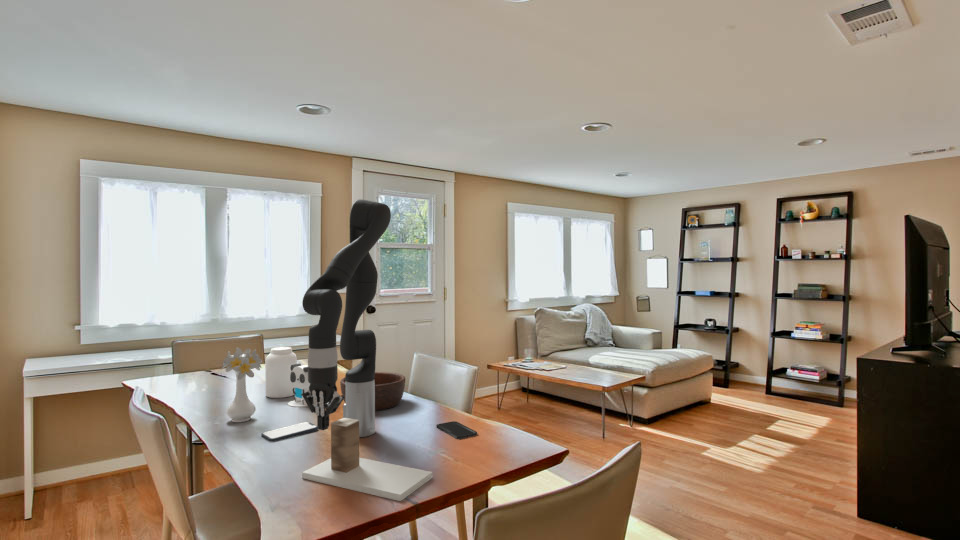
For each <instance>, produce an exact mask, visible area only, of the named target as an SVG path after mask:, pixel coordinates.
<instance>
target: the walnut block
mask: <svg viewBox="0 0 960 540" xmlns="http://www.w3.org/2000/svg"><path fill="white" fill-rule="evenodd" d="M330 458H331V470H336V471H341V472H345V473H347V472H349V471H351V470H353V469H354V468H356V467H358V466H359V458H360V437H359V420H356V419H350V418H343V417H342V418H340V419H338V420H335V421H332V422H331V423H330Z"/></svg>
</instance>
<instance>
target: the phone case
mask: <svg viewBox="0 0 960 540" xmlns="http://www.w3.org/2000/svg"><path fill="white" fill-rule="evenodd" d="M317 431H319V429H318V426H317V425H316V424H313V423H312V422H310V421H304V422H299V423H295V424H292V425H288V426H285V427H279V428H276V429H272V430H267V431H264V432H261V438H263V439H265V440H266V441H268V442H270V443H272V442H278V441H283V440H286V439H289V438H290V439H291V438H294V437H298V436H302V435H306V434H307V435H308V434H310V433H313V432H317Z"/></svg>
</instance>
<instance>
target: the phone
mask: <svg viewBox="0 0 960 540" xmlns="http://www.w3.org/2000/svg"><path fill="white" fill-rule="evenodd" d="M435 428H436V429H438V430H439V431H441V432H443V433H445V434H446V435H447V436H448V435H449V436H450V437H452V438H454V439H456V440H463V439H467V438H471V437H472V438H473V437H475V436H478V431H476V430H474V429H472V428H470V427H468V426H466V425H465V424H463V423H460V422H458V421H455V420H452V421H448V422H442V423H438V424H436V426H435Z"/></svg>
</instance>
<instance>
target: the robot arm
mask: <svg viewBox="0 0 960 540" xmlns="http://www.w3.org/2000/svg"><path fill="white" fill-rule="evenodd" d="M391 217H392V213H391V209H390V207H389V205H387V204H385V203H382V202H379V201H378V202H377V201H373V200H367V199H361V198H360V199H356V200H355V201H354V202H353V203H352V205H351V208H350V212H349V244H347V245H346V246H344V247H342V248H341V249H340V250H338V252H337V253H335V255H334V256H333V258H332V259H331V261H330V262H329V264H328V266H327V268H326V269H325V270H324V272H323V273H322V275H320V276H319V277H318V278H317V279H316V280H315V281H314V282H313V283H312V284H311V285H310V286H309V287H308V289H307V290H306V291H305V293H304V294H303V298H302V302H301V303H302V309H303V310H304V312H306V314H309V315H312V316H319V321H318V324H314V325H312V326H310V327H309V329H308V353H307V365H308V382H309V383H310V386H309V390H308V391H307V392H305V393H303V394H302V396H303V398H304V400H305V401H306V403H307V405H308V406H307V407H308V409H309V411H310V412H311V413H314V414H315V415H316V419H317V420H316V423H317V425H316V426H318V431H326V430H327V429H328V428H329V427H330V415H332V414H334V413H336V412H337V410H338V408H339V407H340V406H341V405H342V402H343V401H344V400H343V399H344V396H343V395H342V394H339V392H338V388H337V381H338V375H339V374H338V351H337V330H338V326H339V321H340V318H341V314H342V310H343V299H342V296H341V295H340V293H339V292H338V291H339V290H340V291H341V290H343V289H345V292H346V293H345V305H344V307H345V308H344V315H343V320H342V327H341V332H340V333H341V334H340V340H339V353H340V357H341V358H342V359H343V360H344V361H352V360H353V361H354V360H361V361H360V362H359V363H358V364H357V365H356V366H355V367H352V368H350V369H348V370H346V372H345V375H344V376H345V390H346V403H345V402H344V403H343V405H342V418H350V419H356V420H359V438H365V437H366V438H367V437H370V436H373V435H374V434H375V433H376V410H375V372H376V358H377V357H376V356H377V338H376V337H377V336H376V335H375V332H374V331H373V330H372V329H358V330H356V328H357V325H358V322H359V320H360V318H361V316H362V315H363V313H364V312H365V311H366V309H368V307H369V306H370V305H371V303H372V301H373V300H374V298H375V297H376V295H377V287H378V279H379V278H378V277H379V276H378V275H379V274H378V269H377V266H376V265H375V262H374V259H373V258H372V255H371V253H370V251H371V250H372V248H373V247H374V246H375V245H376V244H377V242H378V241H379V240H380V238H382V236H383V235H384V234H385V232H386V230H387V228H388V227H389V225H390V223H391ZM313 404H314V405H313Z"/></svg>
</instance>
